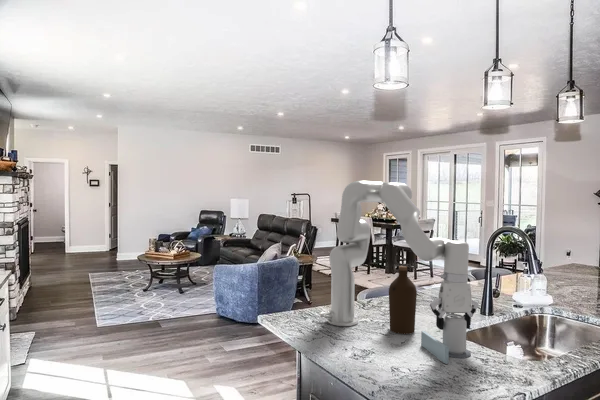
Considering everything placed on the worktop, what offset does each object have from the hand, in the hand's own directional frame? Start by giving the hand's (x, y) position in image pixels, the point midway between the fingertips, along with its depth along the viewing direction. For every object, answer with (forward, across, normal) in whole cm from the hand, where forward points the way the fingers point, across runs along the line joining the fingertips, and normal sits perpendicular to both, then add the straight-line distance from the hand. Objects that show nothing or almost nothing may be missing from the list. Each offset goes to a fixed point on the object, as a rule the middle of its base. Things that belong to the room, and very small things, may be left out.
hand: (453, 328), depth 141 cm
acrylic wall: (+8, -7, -1) cm, 11 cm away
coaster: (+8, 0, -1) cm, 8 cm away
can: (+8, 0, -1) cm, 8 cm away
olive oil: (+9, -8, +23) cm, 26 cm away
